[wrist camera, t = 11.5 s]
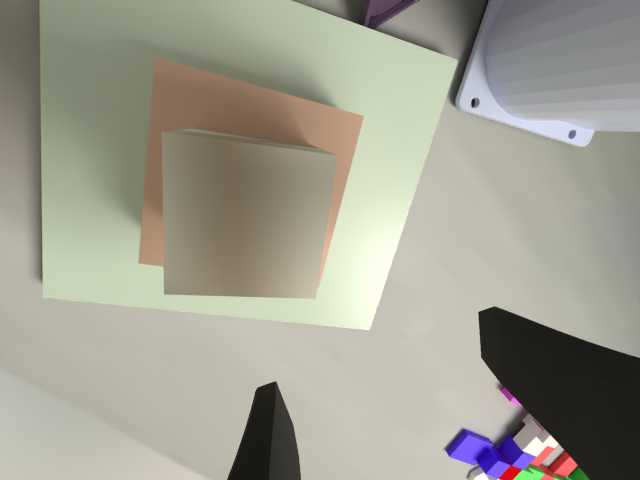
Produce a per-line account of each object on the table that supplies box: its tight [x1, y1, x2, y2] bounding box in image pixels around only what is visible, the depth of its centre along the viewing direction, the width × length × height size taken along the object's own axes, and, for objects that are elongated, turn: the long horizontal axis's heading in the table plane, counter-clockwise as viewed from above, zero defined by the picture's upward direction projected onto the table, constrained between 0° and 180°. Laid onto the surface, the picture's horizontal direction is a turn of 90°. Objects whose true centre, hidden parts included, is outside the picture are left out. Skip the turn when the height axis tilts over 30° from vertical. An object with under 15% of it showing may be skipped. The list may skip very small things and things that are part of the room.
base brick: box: [138, 57, 364, 287], centre depth 15 cm, size 8×8×3 cm
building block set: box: [446, 387, 589, 480], centre depth 30 cm, size 25×20×4 cm
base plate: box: [39, 0, 458, 330], centre depth 17 cm, size 18×16×1 cm
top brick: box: [162, 128, 338, 299], centre depth 11 cm, size 4×4×5 cm
